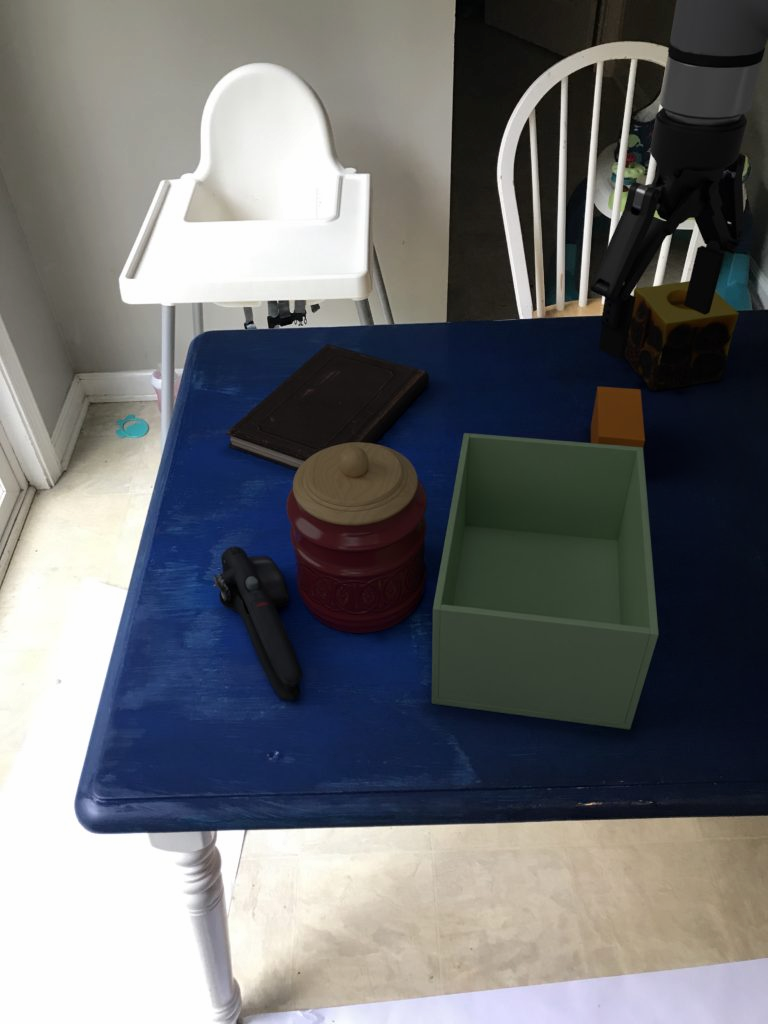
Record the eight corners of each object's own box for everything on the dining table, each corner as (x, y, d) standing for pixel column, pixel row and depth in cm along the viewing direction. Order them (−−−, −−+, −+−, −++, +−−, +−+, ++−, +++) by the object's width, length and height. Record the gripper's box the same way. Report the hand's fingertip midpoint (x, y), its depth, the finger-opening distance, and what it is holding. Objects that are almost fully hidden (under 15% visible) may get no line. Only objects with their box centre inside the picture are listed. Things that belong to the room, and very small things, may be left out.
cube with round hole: (650, 393, 108) (665, 325, 102) (618, 353, 116) (630, 287, 109) (722, 382, 110) (742, 314, 103) (686, 343, 117) (702, 277, 110)
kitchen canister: (387, 656, 78) (381, 518, 66) (273, 607, 83) (249, 471, 71) (447, 567, 86) (452, 430, 74) (341, 527, 91) (329, 393, 79)
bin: (621, 542, 88) (643, 447, 79) (630, 729, 71) (658, 634, 63) (459, 526, 91) (463, 432, 82) (431, 703, 74) (432, 608, 65)
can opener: (210, 583, 86) (200, 544, 82) (275, 564, 87) (268, 525, 84) (255, 719, 73) (246, 681, 69) (330, 694, 75) (325, 655, 71)
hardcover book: (228, 447, 103) (225, 432, 101) (328, 357, 117) (326, 343, 116) (338, 485, 96) (337, 470, 95) (429, 386, 111) (429, 371, 109)
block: (632, 429, 103) (640, 389, 99) (635, 481, 95) (645, 440, 91) (590, 426, 103) (597, 386, 99) (591, 477, 96) (598, 436, 92)
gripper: (750, 73, 79) (700, 280, 93) (569, 133, 68) (543, 357, 82) (824, 90, 74) (759, 304, 89) (642, 157, 63) (601, 390, 78)
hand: (655, 330), depth 85 cm, fingers open, 13 cm apart
